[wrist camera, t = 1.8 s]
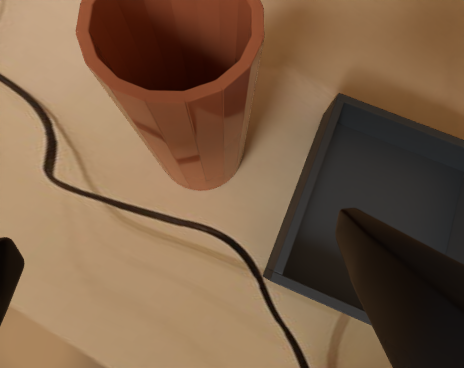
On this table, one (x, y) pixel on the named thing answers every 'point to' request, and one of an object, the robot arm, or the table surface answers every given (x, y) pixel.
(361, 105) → the tray
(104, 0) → the cup
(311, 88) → the table surface
